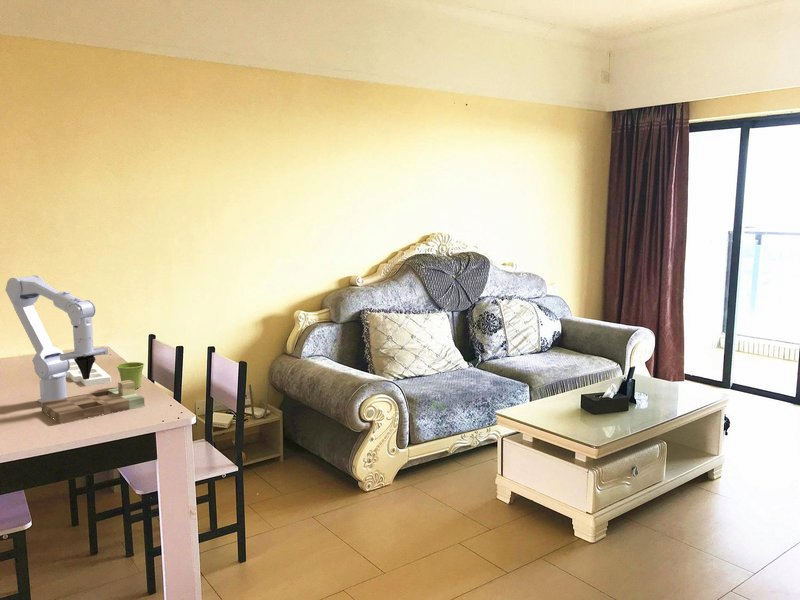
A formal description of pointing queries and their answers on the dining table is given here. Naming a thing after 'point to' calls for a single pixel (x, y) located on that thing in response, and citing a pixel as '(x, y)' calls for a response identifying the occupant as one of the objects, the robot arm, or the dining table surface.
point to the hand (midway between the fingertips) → (86, 378)
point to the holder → (95, 376)
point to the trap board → (90, 405)
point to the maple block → (126, 387)
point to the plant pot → (131, 372)
